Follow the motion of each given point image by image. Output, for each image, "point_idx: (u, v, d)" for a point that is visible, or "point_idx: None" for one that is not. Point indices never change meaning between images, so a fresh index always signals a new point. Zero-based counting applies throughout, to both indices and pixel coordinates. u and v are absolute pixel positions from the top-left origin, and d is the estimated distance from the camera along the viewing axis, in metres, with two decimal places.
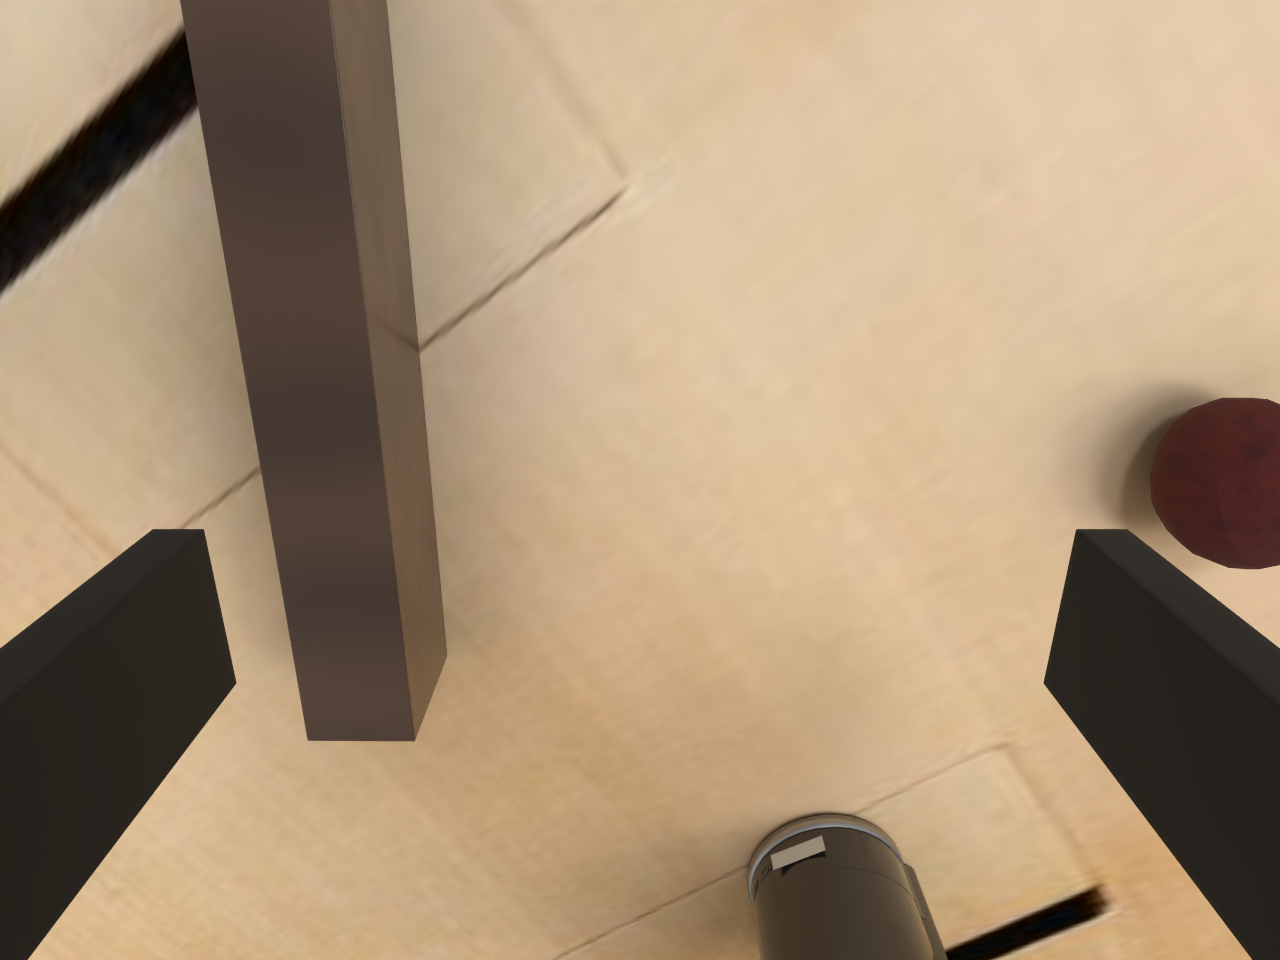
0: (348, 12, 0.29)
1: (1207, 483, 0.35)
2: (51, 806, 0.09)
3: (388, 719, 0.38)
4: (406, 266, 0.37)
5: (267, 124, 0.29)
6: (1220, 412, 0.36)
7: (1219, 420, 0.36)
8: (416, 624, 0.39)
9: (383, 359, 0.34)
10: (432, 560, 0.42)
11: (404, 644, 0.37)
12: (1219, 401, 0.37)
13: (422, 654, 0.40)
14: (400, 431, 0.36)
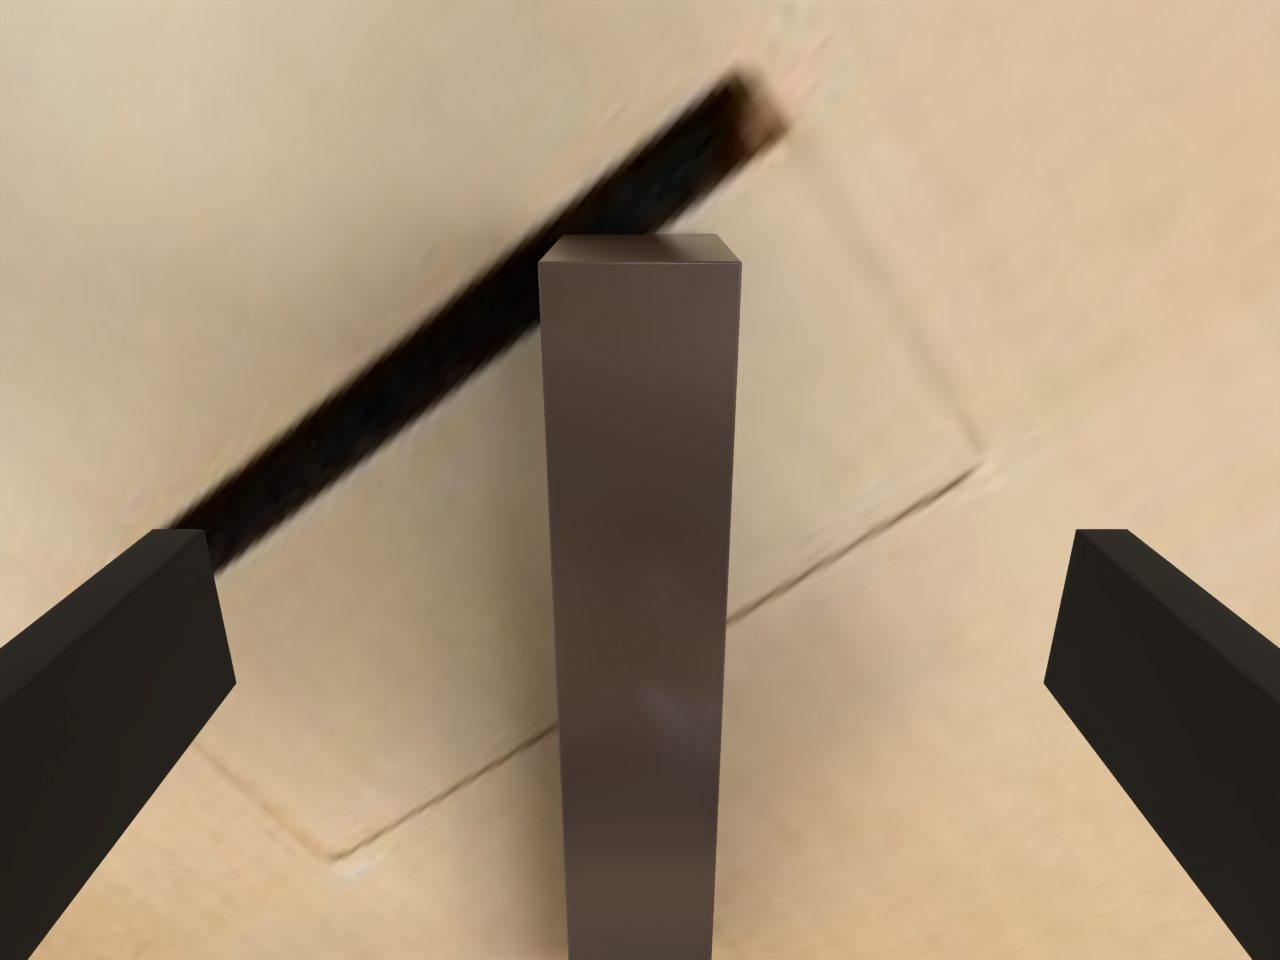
0: None
1: None
2: (51, 805, 0.09)
3: None
4: None
5: (632, 475, 0.22)
6: None
7: None
8: None
9: None
10: None
11: None
12: None
13: None
14: None
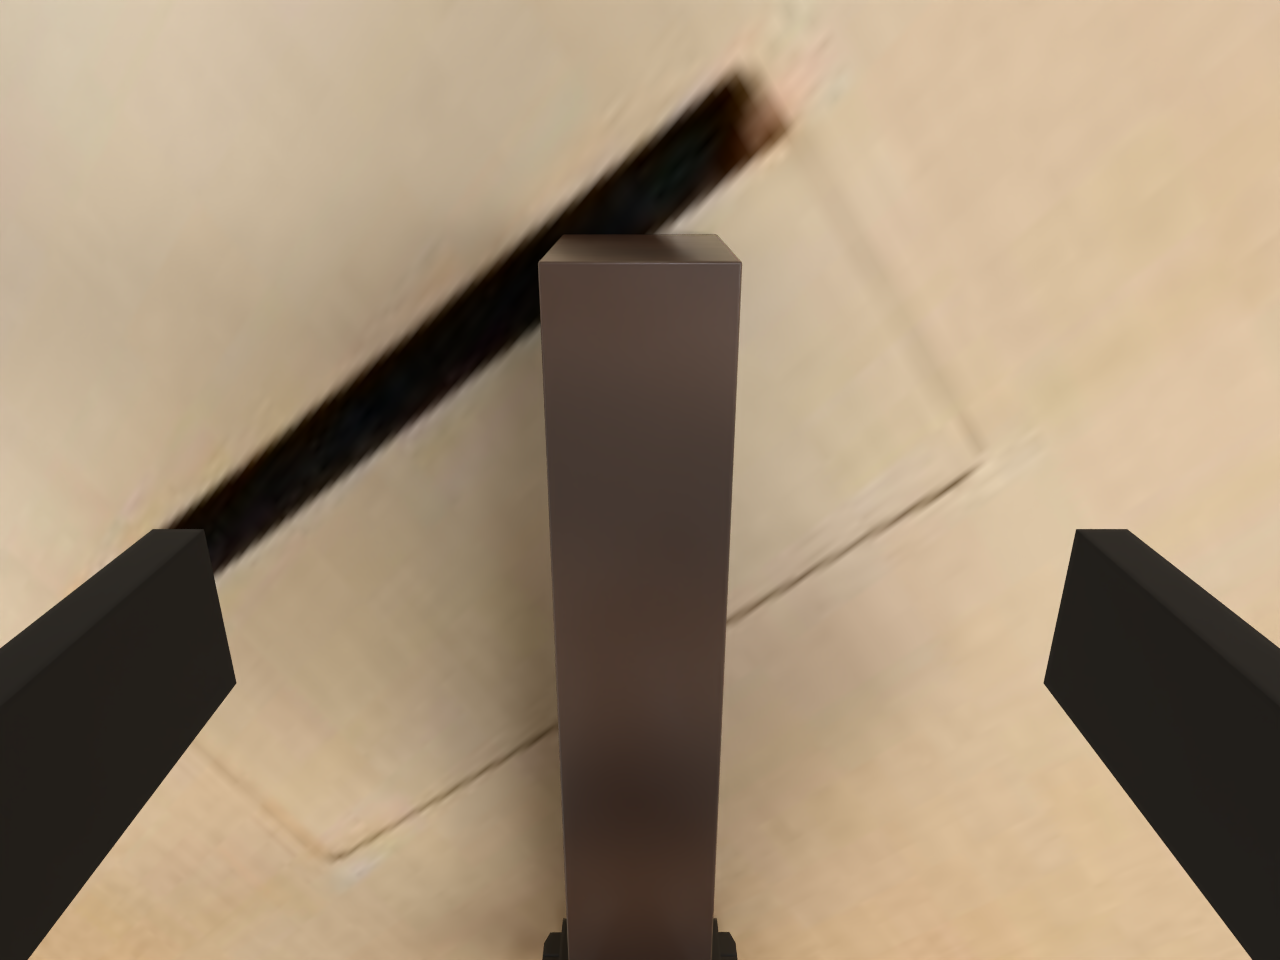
0: None
1: None
2: (51, 805, 0.09)
3: None
4: None
5: (632, 475, 0.22)
6: None
7: None
8: None
9: None
10: None
11: None
12: None
13: None
14: None
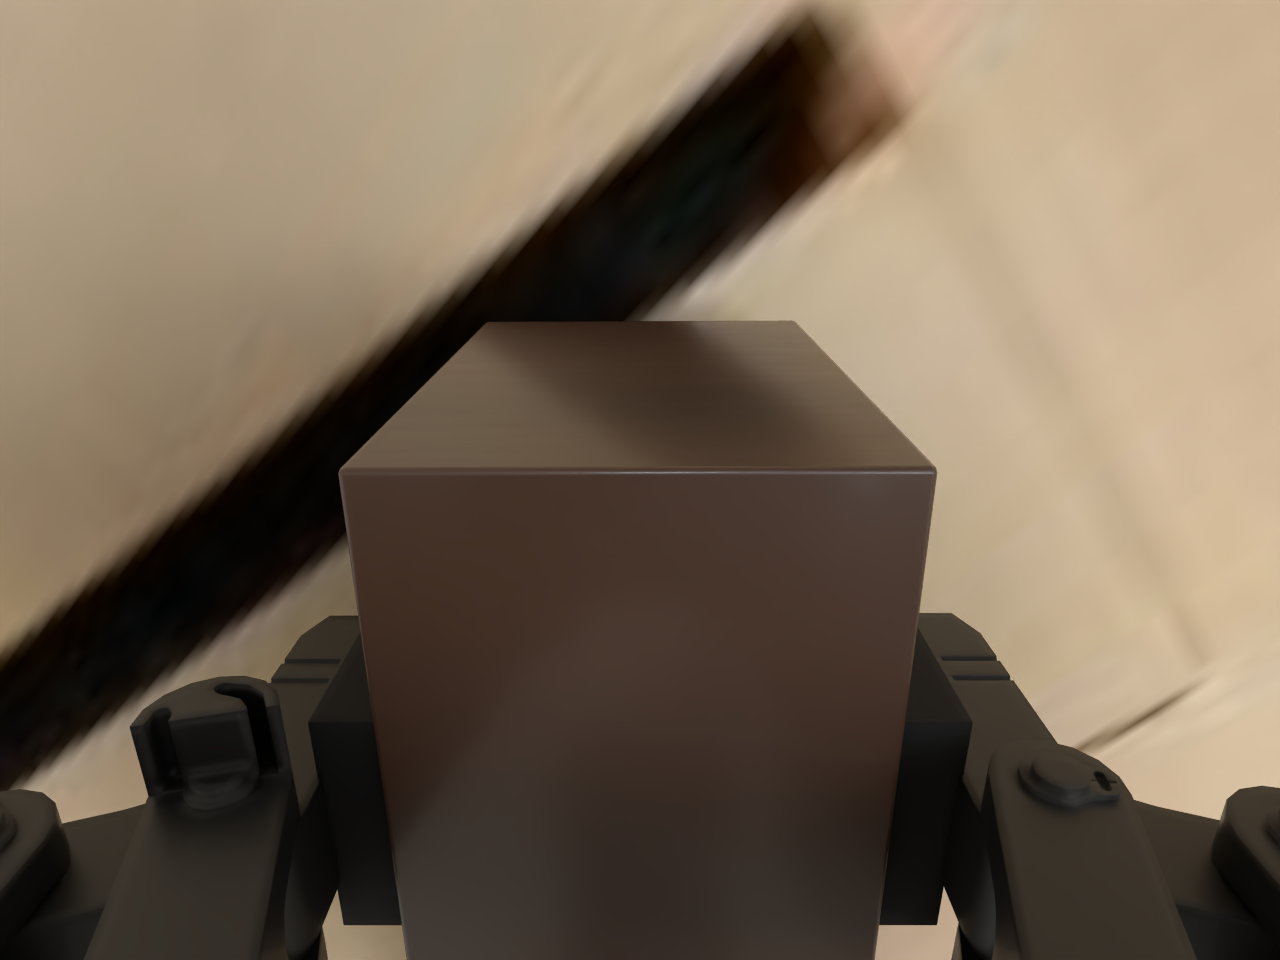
0: None
1: None
2: None
3: None
4: None
5: None
6: None
7: None
8: None
9: None
10: None
11: None
12: None
13: None
14: None
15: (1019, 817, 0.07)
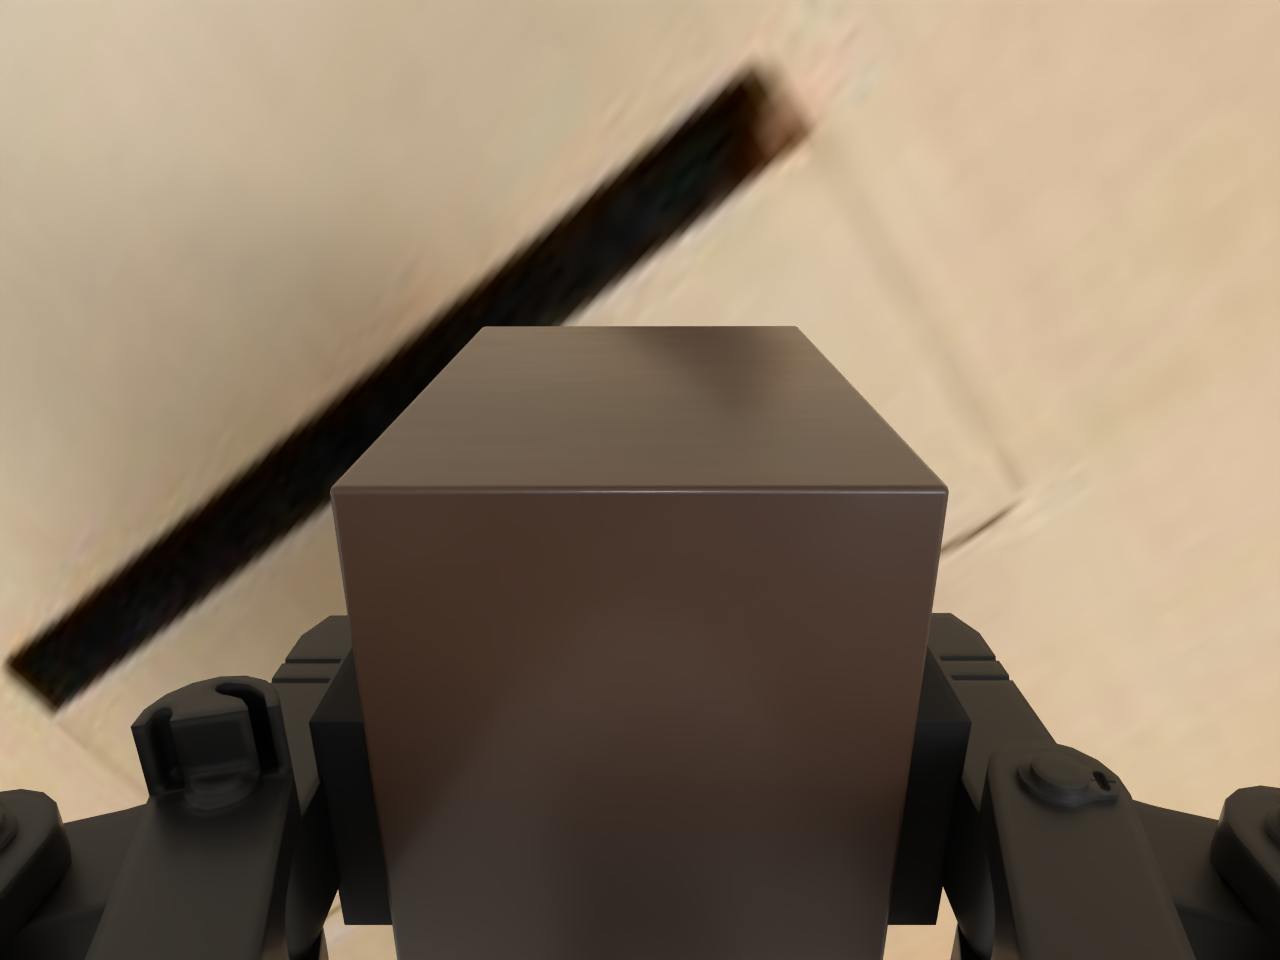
0: None
1: None
2: None
3: None
4: None
5: None
6: None
7: None
8: None
9: None
10: None
11: None
12: None
13: None
14: None
15: (1019, 817, 0.07)
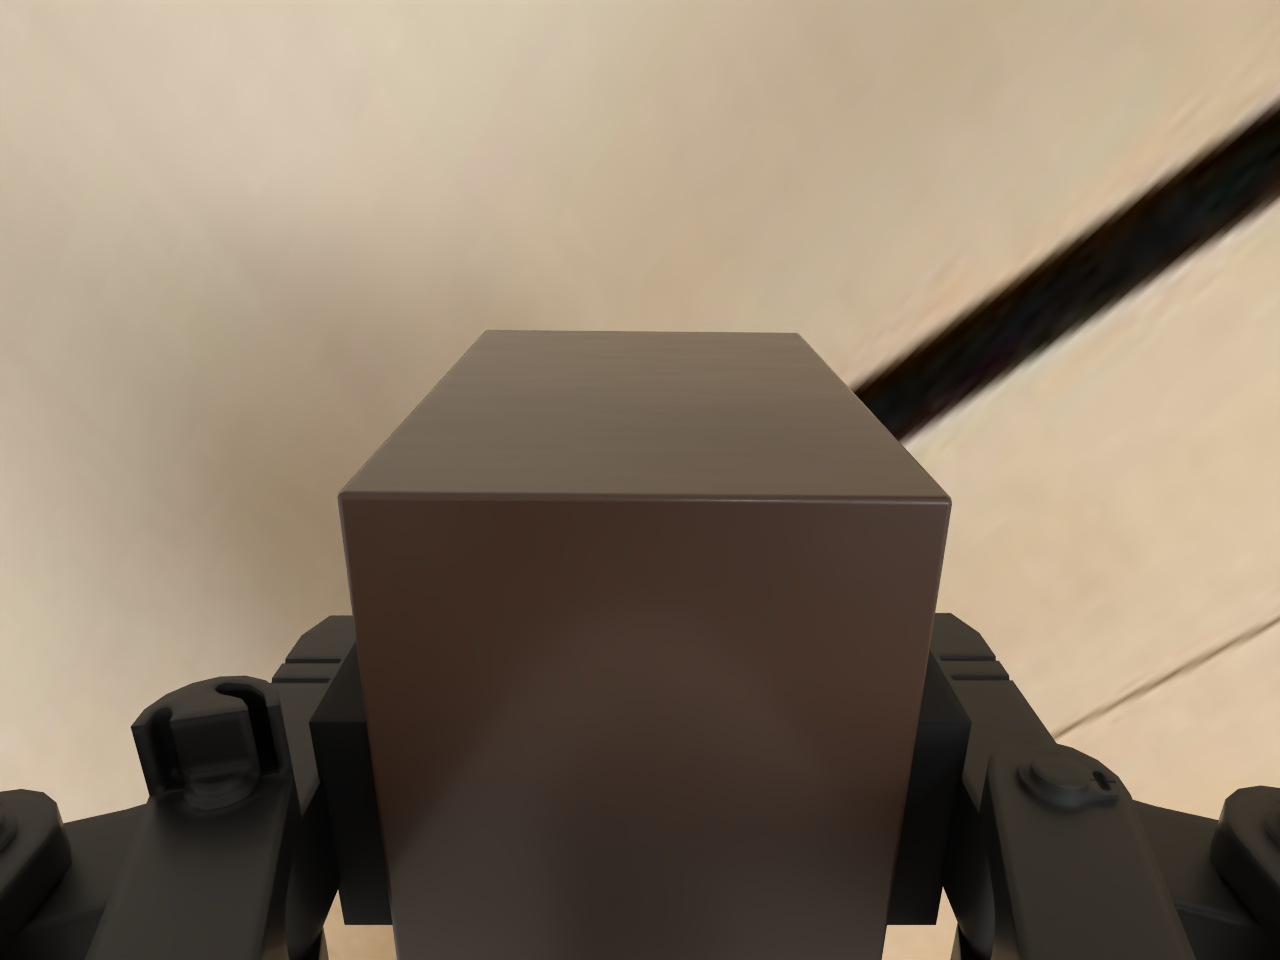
0: None
1: None
2: None
3: None
4: None
5: None
6: None
7: None
8: None
9: None
10: None
11: None
12: None
13: None
14: None
15: (1018, 816, 0.07)
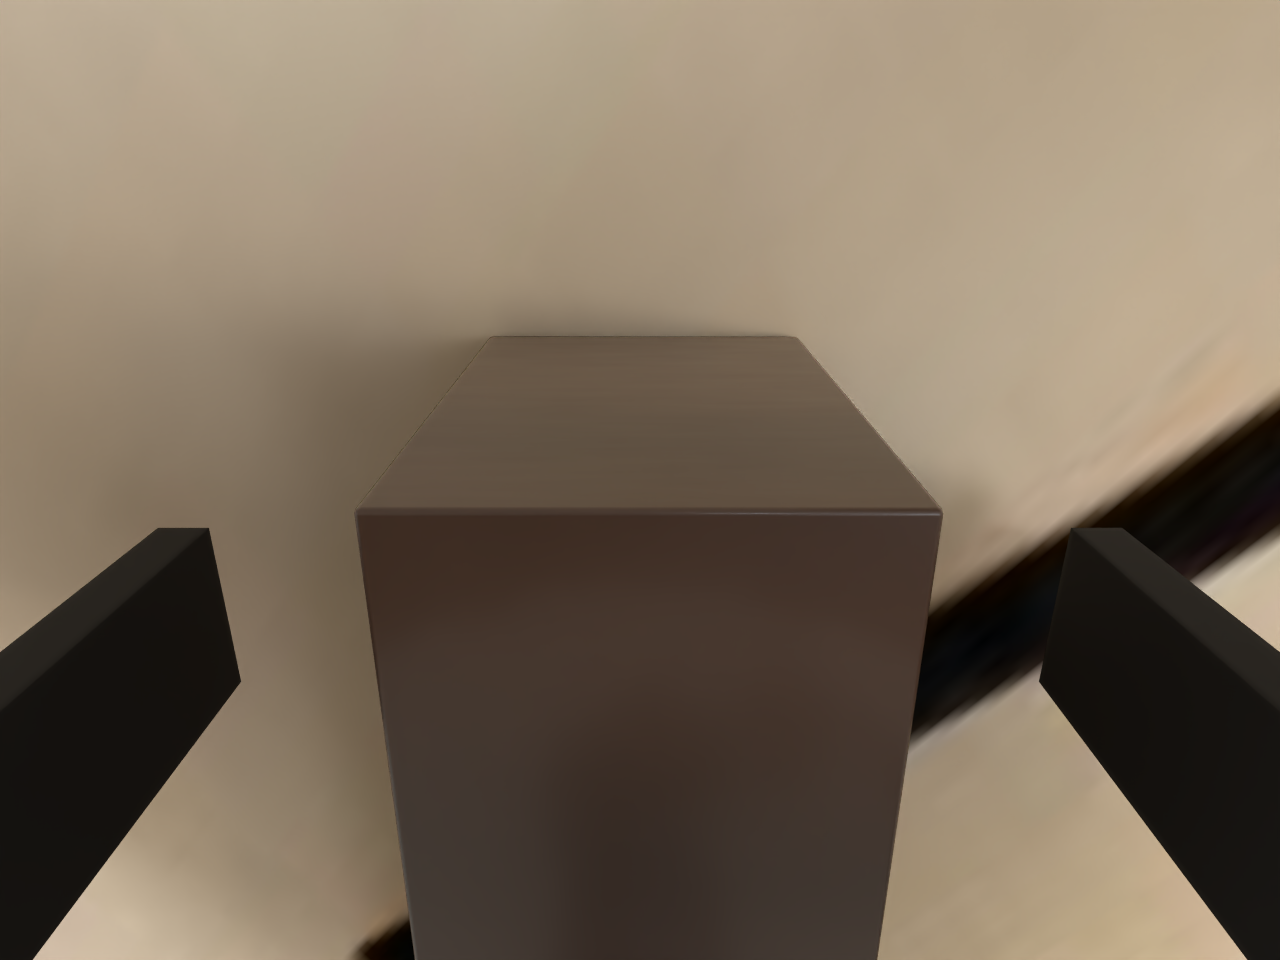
0: None
1: None
2: (59, 803, 0.09)
3: None
4: None
5: None
6: None
7: None
8: None
9: None
10: None
11: None
12: None
13: None
14: None
15: None
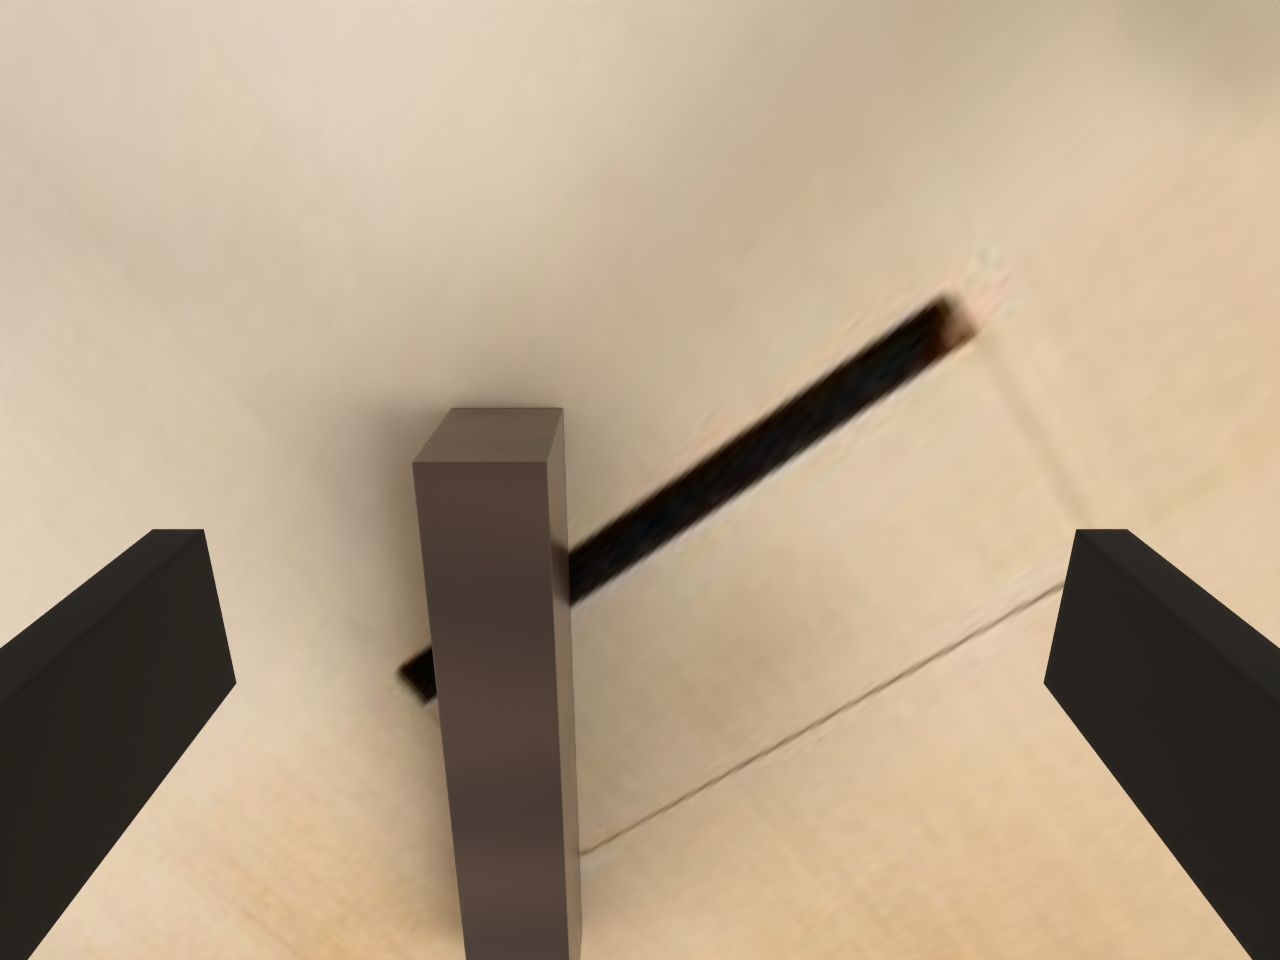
0: (553, 491, 0.33)
1: None
2: (51, 805, 0.09)
3: None
4: (569, 634, 0.41)
5: (484, 596, 0.33)
6: None
7: None
8: (573, 942, 0.43)
9: (563, 749, 0.37)
10: (577, 863, 0.46)
11: None
12: None
13: None
14: (568, 790, 0.40)
15: None
